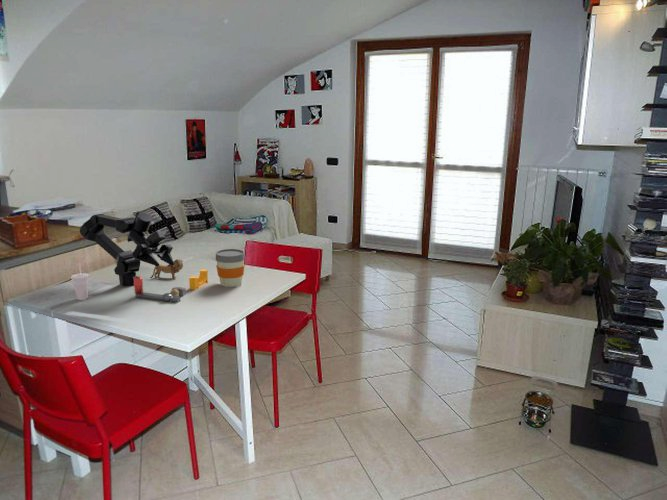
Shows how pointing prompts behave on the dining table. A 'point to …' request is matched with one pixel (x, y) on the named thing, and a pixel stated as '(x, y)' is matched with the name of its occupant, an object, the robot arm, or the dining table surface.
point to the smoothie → (81, 284)
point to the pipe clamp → (198, 280)
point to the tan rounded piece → (175, 292)
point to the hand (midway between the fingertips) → (166, 265)
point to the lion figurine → (168, 269)
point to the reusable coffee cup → (230, 267)
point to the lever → (139, 293)
